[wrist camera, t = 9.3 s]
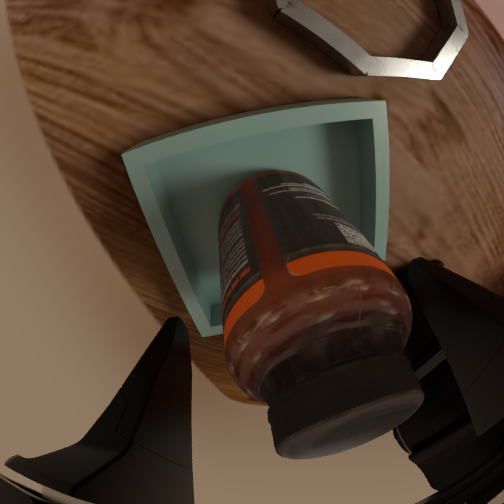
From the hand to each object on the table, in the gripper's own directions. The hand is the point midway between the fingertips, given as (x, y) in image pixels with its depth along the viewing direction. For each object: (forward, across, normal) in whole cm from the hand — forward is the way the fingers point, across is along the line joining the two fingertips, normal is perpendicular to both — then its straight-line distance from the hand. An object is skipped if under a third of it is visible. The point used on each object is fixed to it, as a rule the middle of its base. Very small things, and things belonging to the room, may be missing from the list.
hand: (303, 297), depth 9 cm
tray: (+7, 0, 0) cm, 7 cm away
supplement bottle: (+6, 0, 0) cm, 6 cm away
